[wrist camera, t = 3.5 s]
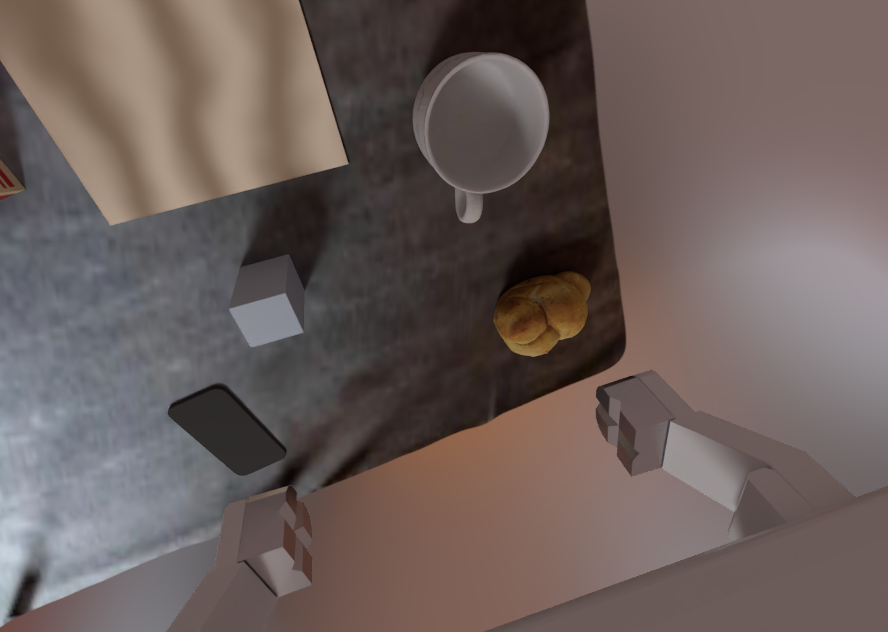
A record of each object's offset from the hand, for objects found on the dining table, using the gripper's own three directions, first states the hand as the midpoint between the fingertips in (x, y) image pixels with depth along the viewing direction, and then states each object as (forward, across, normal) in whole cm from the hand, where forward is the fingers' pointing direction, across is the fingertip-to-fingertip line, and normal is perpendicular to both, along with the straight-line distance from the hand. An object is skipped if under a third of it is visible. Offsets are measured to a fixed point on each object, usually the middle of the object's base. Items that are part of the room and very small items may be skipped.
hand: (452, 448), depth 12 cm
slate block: (+37, -12, -12) cm, 41 cm away
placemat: (+37, -12, +6) cm, 39 cm away
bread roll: (+38, +16, -25) cm, 48 cm away
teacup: (+37, +10, -2) cm, 39 cm away
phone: (+38, -25, -31) cm, 55 cm away
